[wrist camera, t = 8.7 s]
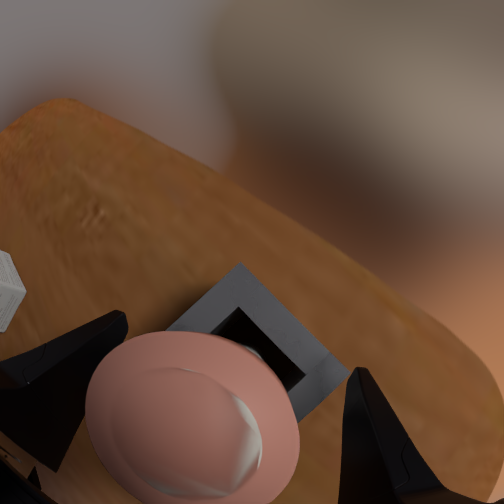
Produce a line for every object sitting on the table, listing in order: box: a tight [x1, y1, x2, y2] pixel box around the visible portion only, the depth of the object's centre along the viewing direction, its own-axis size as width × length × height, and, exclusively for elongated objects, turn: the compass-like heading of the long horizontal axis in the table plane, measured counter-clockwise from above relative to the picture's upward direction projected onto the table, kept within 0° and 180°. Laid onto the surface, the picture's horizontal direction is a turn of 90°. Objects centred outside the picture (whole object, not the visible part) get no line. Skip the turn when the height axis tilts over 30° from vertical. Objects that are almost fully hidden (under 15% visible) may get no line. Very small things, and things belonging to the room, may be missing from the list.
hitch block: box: [166, 262, 351, 423], centre depth 15 cm, size 8×8×4 cm
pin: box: [85, 331, 300, 504], centre depth 10 cm, size 5×5×13 cm
